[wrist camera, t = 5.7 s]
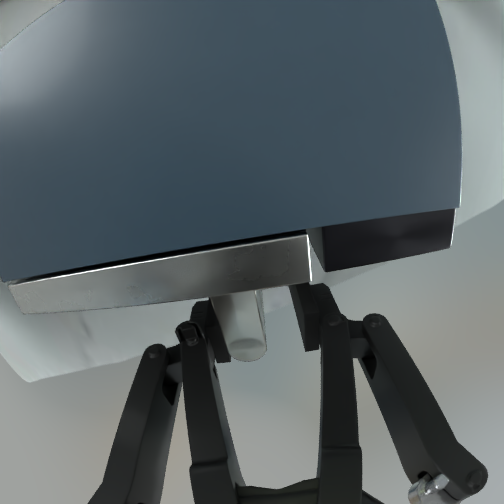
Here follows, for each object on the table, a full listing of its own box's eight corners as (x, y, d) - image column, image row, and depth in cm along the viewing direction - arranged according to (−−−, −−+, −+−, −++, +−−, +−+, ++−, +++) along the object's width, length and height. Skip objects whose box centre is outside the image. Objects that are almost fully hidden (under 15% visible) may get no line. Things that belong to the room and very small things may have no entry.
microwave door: (283, 258, 23) (315, 396, 11) (146, 279, 24) (87, 401, 12) (269, 163, 20) (308, 233, 7) (118, 196, 20) (7, 286, 8)
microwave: (340, 181, 20) (450, 270, 8) (126, 219, 22) (27, 326, 9) (320, 43, 15) (418, -40, 3) (96, 93, 16) (-43, 95, 4)
